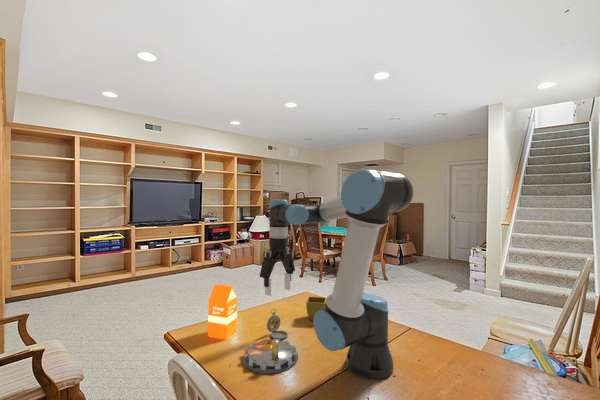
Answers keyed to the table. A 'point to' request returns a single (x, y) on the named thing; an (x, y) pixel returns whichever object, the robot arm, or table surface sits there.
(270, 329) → the pocket watch
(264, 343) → the sprocket
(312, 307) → the flower pot
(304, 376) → the table surface
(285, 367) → the base plate
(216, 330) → the orange juice
